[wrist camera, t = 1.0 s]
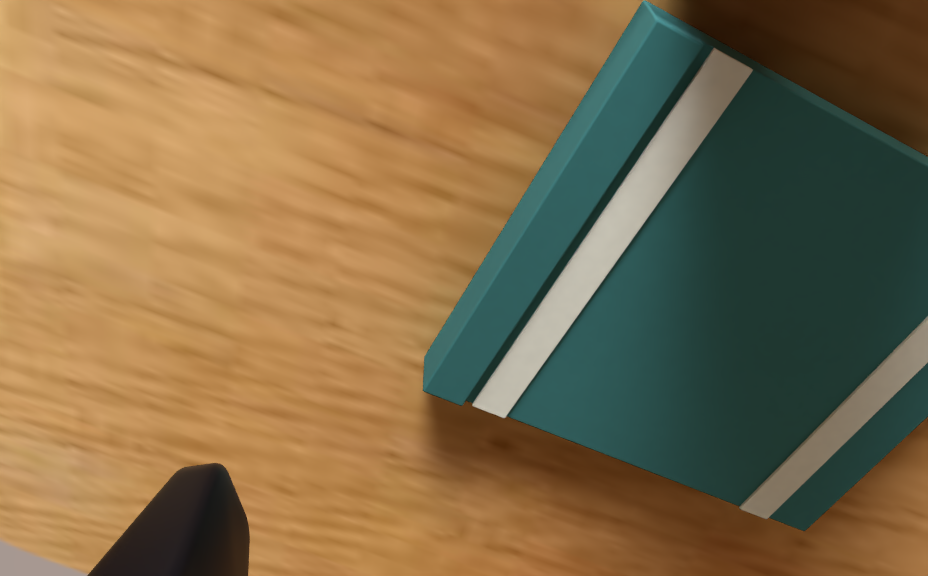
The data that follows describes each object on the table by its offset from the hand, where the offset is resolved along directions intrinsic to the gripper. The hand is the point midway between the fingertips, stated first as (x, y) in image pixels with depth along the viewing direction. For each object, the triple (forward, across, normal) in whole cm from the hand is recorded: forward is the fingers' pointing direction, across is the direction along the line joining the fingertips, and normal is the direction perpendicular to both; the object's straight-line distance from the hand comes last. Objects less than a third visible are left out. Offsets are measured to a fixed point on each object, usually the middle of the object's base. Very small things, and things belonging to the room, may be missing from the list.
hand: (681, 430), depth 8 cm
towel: (+12, -5, +8) cm, 15 cm away
